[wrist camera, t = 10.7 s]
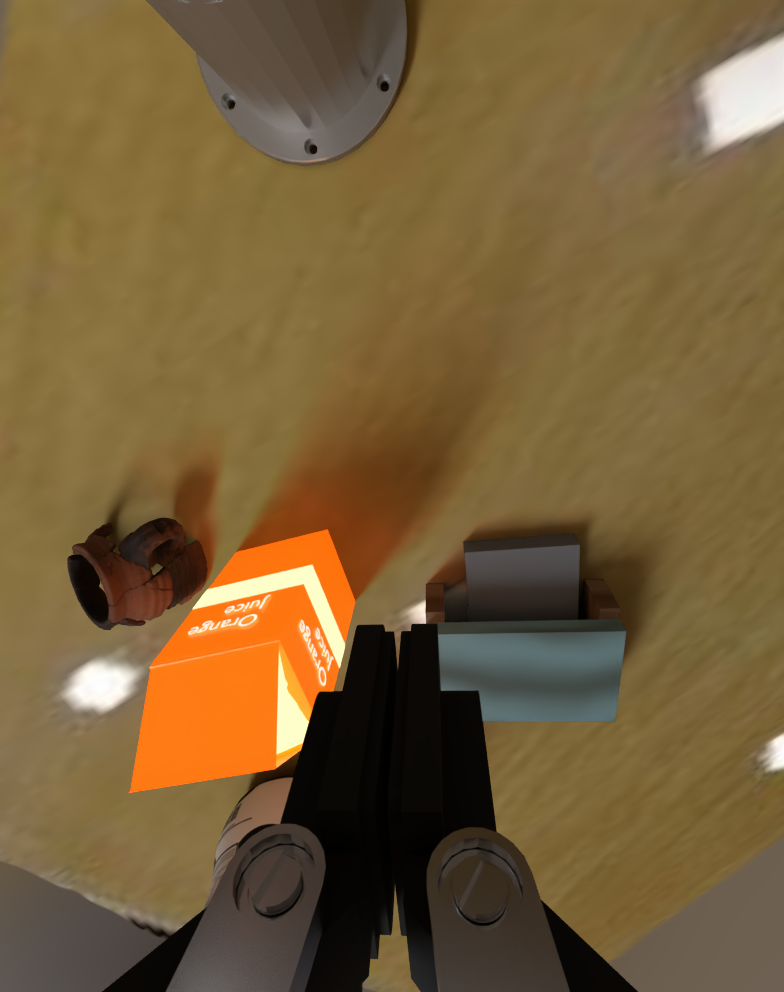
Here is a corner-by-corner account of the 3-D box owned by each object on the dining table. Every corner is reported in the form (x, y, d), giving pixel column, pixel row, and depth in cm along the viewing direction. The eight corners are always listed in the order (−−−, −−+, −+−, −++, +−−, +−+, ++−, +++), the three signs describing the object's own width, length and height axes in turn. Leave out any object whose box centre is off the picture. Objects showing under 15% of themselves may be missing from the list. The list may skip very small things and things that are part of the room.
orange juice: (234, 550, 43) (89, 740, 25) (328, 527, 42) (247, 711, 23) (268, 622, 46) (159, 841, 28) (356, 603, 45) (305, 821, 26)
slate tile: (462, 539, 42) (464, 552, 40) (571, 531, 41) (579, 544, 39) (472, 669, 47) (474, 687, 45) (569, 665, 46) (576, 683, 44)
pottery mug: (197, 615, 47) (110, 661, 41) (144, 542, 49) (53, 575, 43) (236, 540, 40) (138, 581, 34) (172, 459, 42) (68, 483, 36)
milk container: (394, 864, 58) (380, 1092, 41) (253, 862, 60) (185, 1080, 43) (378, 757, 52) (354, 977, 35) (220, 759, 53) (126, 968, 37)
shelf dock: (426, 583, 43) (425, 623, 38) (602, 579, 42) (627, 620, 36) (431, 686, 47) (432, 734, 42) (592, 685, 46) (613, 735, 41)
